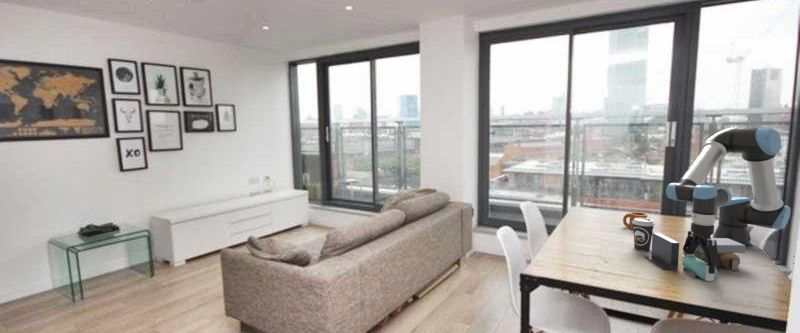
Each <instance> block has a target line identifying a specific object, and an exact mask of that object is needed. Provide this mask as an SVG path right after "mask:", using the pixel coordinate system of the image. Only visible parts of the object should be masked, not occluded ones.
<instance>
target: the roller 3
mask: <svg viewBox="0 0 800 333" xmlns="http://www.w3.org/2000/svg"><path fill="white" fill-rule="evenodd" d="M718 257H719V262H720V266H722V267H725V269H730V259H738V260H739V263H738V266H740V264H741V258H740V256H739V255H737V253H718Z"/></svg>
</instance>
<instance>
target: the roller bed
mask: <svg viewBox="0 0 800 333" xmlns="http://www.w3.org/2000/svg"><path fill="white" fill-rule="evenodd" d="M685 257H686V256H685V255H681V258H683V259H684V258H685ZM738 263H739V260H738V259H730V269H728V268H718V266H715V268H716V269H717V272H741V269H739V265H738ZM682 272H683V273H685V274H686V275H687V276H689V277H691V278H692V279H697V275H696V273H694V272H692V271H691V270H689V269H687V268H686V267H683V266H682ZM715 279H717V277H716V278H715ZM715 279H714V280H715Z"/></svg>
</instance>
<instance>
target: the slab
mask: <svg viewBox="0 0 800 333" xmlns="http://www.w3.org/2000/svg"><path fill="white" fill-rule="evenodd" d="M686 239H687V237H686V238H685V240H686ZM711 240H716V241H717V251H718V253H733V254H745V253H746V246H747V245H743V244H741V243H738V242H736V241H733V240H731V239H729V238H713V237H711ZM707 246H708V245H707ZM696 251H698V252H700V253H704V251H703V249H702V248H701V246H699V245H698V247H697V248H696Z"/></svg>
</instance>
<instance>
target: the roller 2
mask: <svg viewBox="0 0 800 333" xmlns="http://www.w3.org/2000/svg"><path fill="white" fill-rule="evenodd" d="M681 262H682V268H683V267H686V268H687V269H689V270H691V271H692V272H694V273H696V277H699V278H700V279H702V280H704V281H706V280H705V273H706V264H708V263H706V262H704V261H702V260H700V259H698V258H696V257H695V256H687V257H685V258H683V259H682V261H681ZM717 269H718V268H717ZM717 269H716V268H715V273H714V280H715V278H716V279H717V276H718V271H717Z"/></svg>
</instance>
